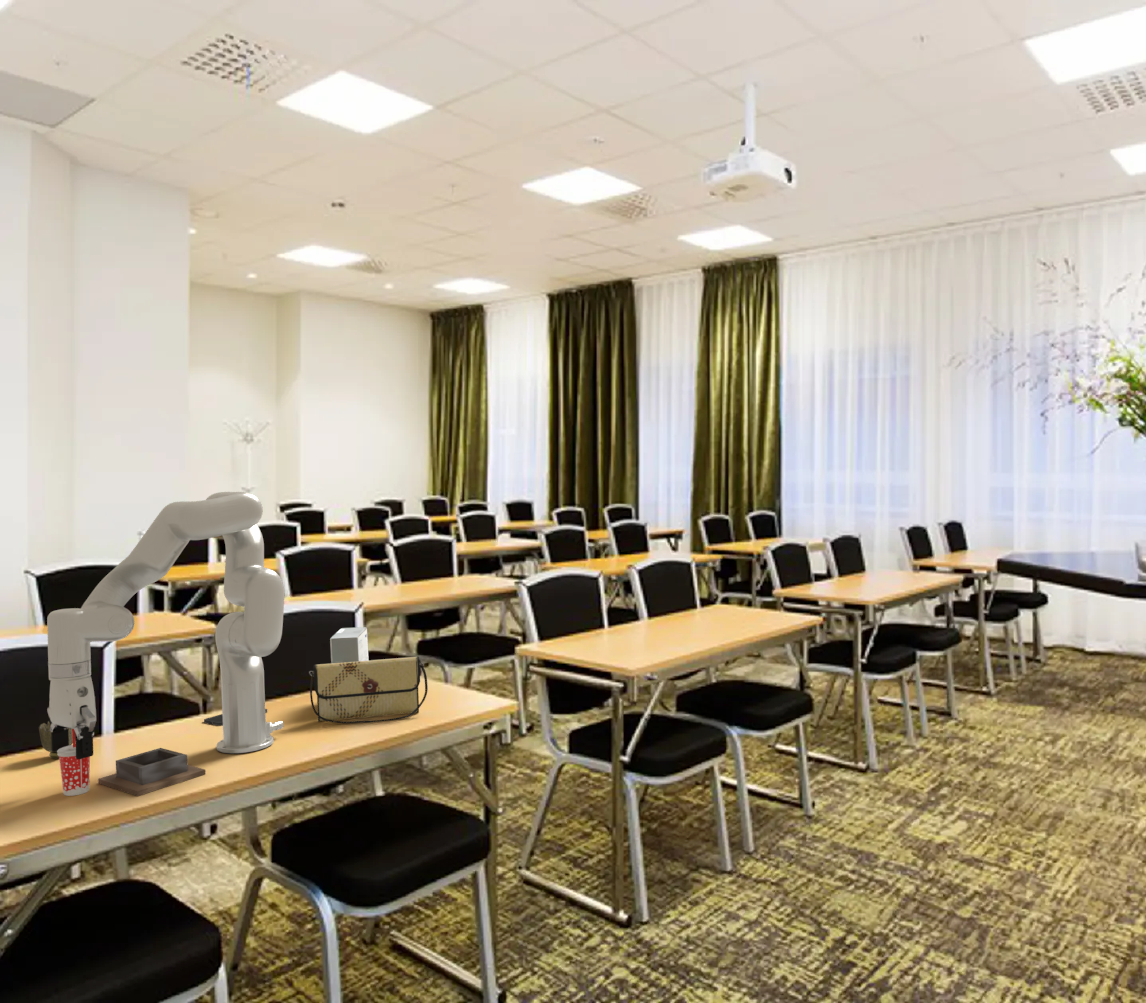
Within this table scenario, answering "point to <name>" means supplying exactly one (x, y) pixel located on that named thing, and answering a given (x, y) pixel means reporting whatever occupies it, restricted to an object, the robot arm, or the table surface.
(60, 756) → the beverage cup
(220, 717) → the phone
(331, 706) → the clutch purse
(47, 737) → the cup
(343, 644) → the hard drive box
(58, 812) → the table surface
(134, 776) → the socket board
